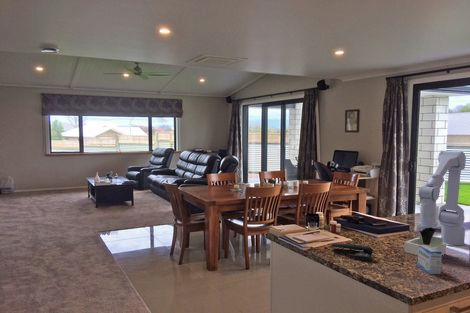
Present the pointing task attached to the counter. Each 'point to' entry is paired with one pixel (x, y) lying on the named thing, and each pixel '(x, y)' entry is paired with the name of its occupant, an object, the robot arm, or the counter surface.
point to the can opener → (354, 250)
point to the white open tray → (413, 247)
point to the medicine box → (429, 259)
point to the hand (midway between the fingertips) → (426, 244)
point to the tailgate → (432, 241)
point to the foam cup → (435, 214)
